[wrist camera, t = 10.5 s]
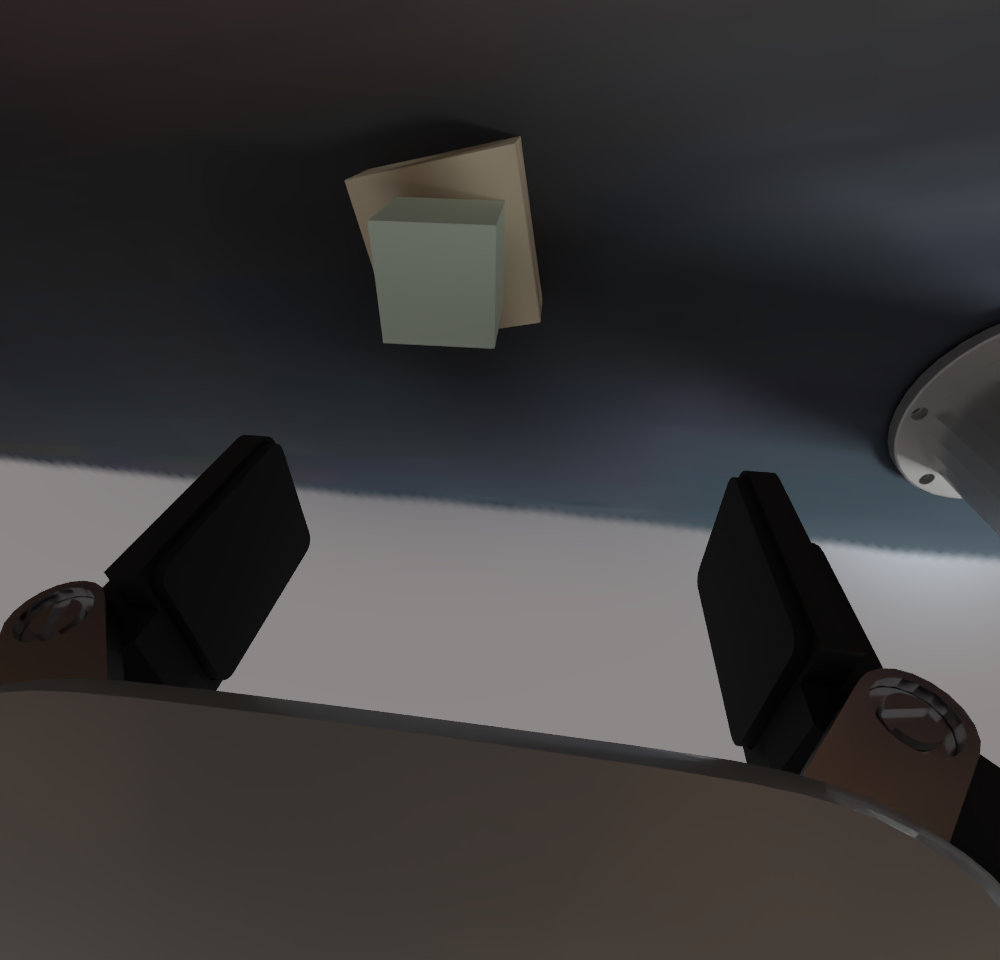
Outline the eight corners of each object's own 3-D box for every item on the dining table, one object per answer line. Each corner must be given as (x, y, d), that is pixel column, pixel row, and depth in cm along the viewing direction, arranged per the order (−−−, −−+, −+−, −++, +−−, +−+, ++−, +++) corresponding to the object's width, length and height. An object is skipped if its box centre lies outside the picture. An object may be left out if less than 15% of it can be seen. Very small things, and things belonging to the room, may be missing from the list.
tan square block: (520, 135, 25) (514, 143, 22) (542, 297, 30) (540, 322, 27) (369, 168, 27) (344, 180, 24) (413, 317, 31) (397, 343, 28)
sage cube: (505, 200, 23) (496, 225, 20) (502, 308, 27) (494, 348, 23) (397, 196, 24) (367, 220, 20) (407, 304, 27) (383, 342, 23)
